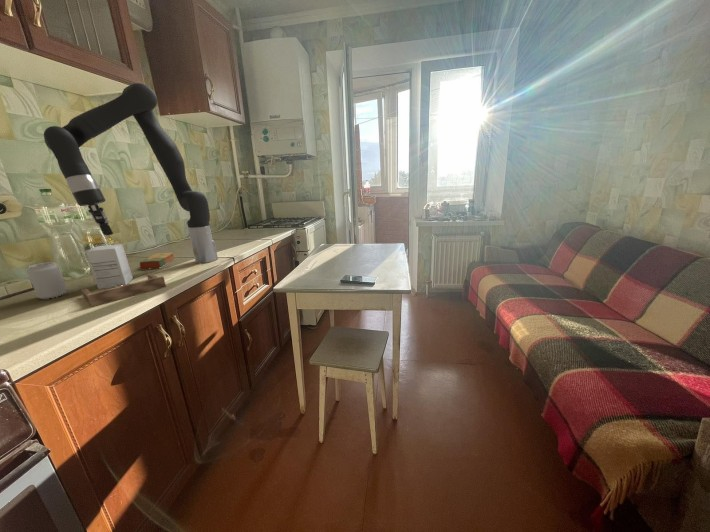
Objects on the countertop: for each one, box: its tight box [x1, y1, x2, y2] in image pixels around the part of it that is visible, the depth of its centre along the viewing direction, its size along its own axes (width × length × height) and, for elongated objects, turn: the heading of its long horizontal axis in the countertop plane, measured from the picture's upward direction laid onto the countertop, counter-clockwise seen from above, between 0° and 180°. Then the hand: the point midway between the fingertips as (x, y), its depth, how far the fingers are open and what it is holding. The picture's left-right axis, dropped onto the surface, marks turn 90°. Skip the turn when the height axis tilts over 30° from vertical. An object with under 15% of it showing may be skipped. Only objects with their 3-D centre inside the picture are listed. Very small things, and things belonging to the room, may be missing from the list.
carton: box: [139, 252, 175, 270], centre depth 135 cm, size 8×16×4 cm, turn 12°
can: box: [26, 261, 68, 300], centre depth 98 cm, size 8×8×12 cm
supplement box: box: [85, 243, 134, 290], centre depth 107 cm, size 9×9×15 cm
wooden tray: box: [80, 273, 167, 308], centre depth 101 cm, size 21×15×4 cm
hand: (109, 234), depth 102 cm, fingers open, 8 cm apart
